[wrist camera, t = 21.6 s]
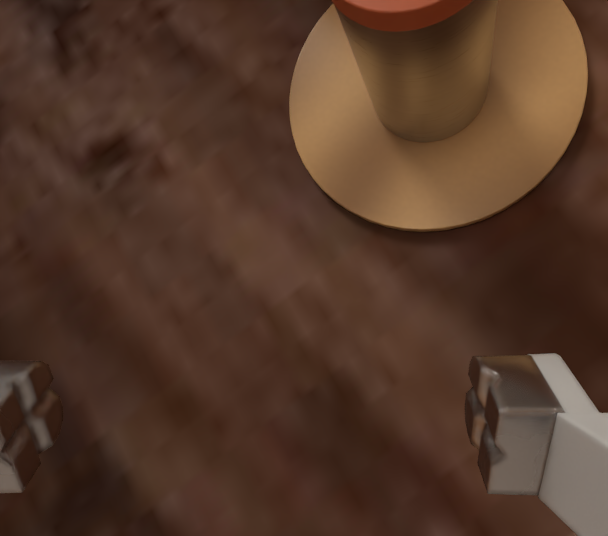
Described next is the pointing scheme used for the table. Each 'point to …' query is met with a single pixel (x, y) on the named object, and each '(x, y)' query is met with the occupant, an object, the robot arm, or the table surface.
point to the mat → (455, 149)
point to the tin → (422, 61)
